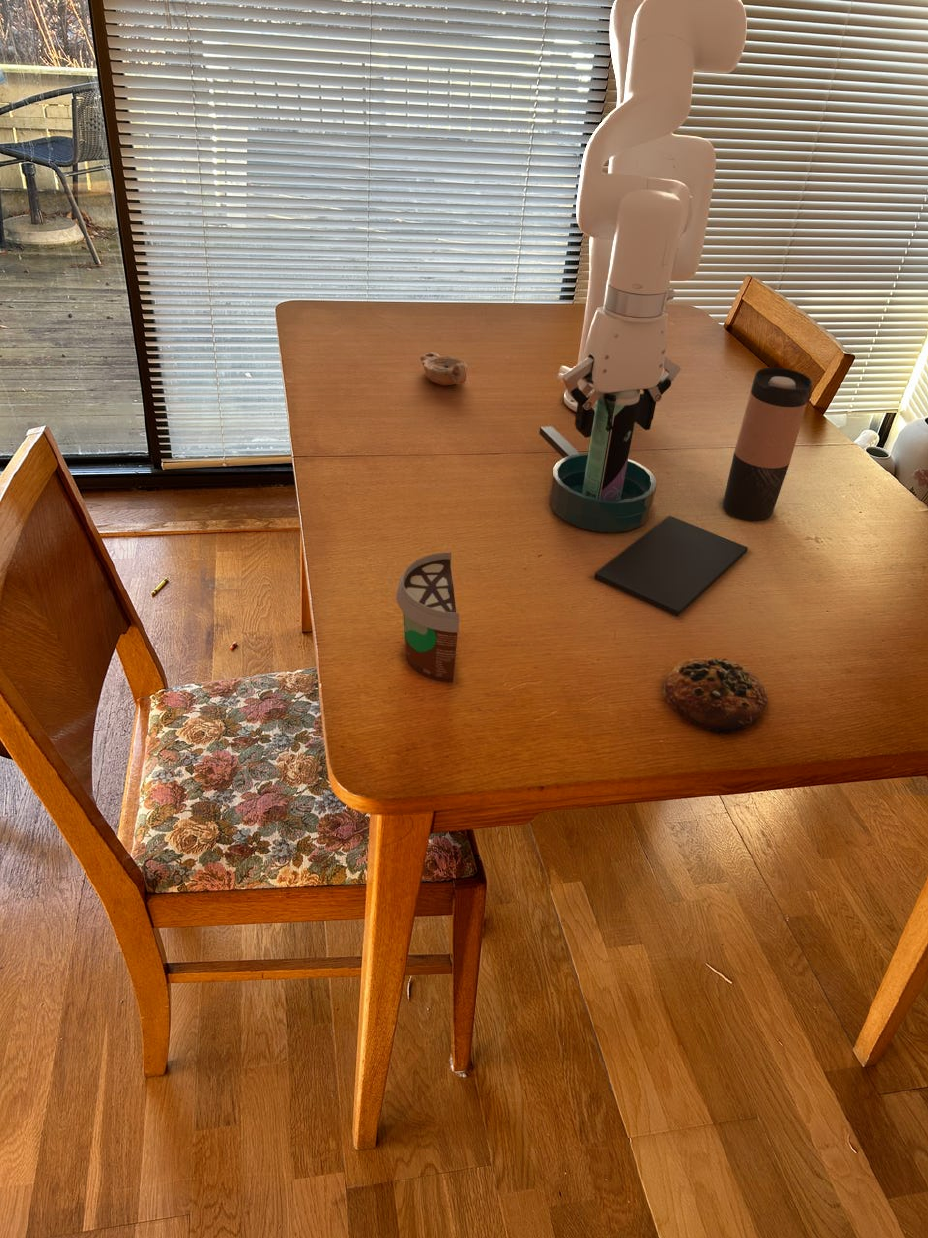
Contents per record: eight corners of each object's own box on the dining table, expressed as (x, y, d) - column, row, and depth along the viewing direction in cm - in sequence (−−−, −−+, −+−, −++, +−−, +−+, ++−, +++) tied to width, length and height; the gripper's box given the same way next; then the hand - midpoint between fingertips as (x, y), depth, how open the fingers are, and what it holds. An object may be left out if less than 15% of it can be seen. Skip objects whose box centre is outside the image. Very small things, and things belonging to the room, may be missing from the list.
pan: (529, 507, 131) (533, 476, 128) (583, 473, 141) (588, 443, 138) (616, 546, 125) (623, 513, 122) (667, 507, 134) (674, 476, 131)
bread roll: (700, 745, 95) (709, 704, 92) (640, 689, 103) (646, 650, 101) (786, 723, 99) (796, 683, 96) (721, 671, 107) (729, 633, 105)
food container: (393, 621, 108) (395, 549, 102) (446, 621, 109) (451, 549, 103) (396, 692, 99) (398, 616, 93) (454, 691, 99) (459, 616, 93)
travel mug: (775, 503, 137) (814, 373, 125) (771, 527, 131) (812, 394, 119) (723, 491, 139) (757, 362, 127) (717, 515, 133) (752, 383, 121)
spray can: (617, 517, 130) (643, 381, 118) (578, 511, 131) (600, 375, 119) (620, 498, 134) (645, 365, 122) (582, 493, 135) (603, 360, 123)
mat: (593, 578, 118) (594, 573, 118) (668, 520, 131) (669, 515, 131) (677, 617, 113) (679, 611, 112) (747, 552, 126) (748, 547, 125)
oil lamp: (410, 369, 169) (411, 342, 166) (447, 364, 172) (448, 338, 169) (442, 398, 160) (443, 370, 157) (480, 392, 163) (482, 365, 160)
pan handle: (585, 467, 137) (586, 459, 136) (573, 468, 136) (574, 461, 135) (550, 432, 145) (551, 425, 144) (539, 433, 144) (539, 426, 144)
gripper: (678, 286, 121) (653, 411, 131) (559, 294, 115) (542, 424, 125) (711, 306, 115) (682, 434, 126) (587, 315, 110) (568, 449, 120)
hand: (612, 429), depth 126 cm, fingers open, 8 cm apart
